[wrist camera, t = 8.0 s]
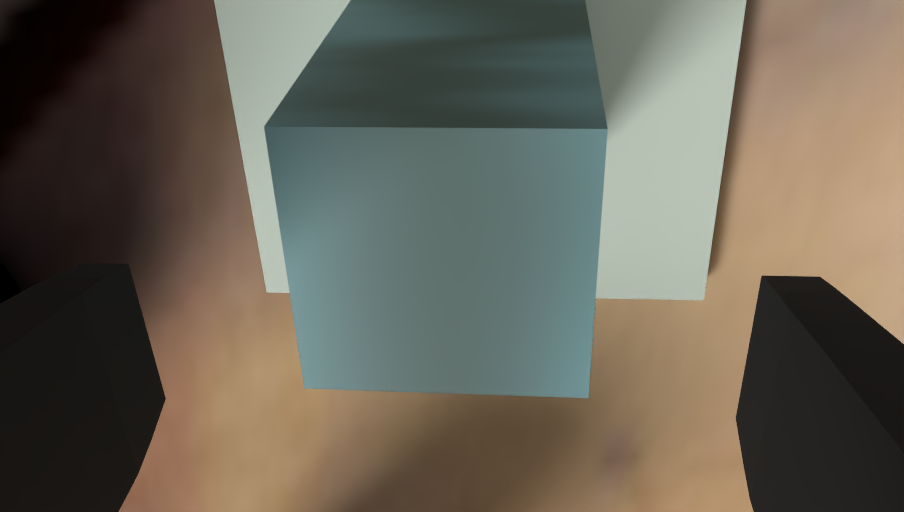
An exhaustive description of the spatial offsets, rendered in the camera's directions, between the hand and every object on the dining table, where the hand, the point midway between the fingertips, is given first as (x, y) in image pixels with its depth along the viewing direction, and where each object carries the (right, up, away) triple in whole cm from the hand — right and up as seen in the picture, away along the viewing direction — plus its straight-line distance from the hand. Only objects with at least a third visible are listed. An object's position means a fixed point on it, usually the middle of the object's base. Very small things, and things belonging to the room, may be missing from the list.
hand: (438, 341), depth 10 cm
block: (+1, +4, +7) cm, 8 cm away
